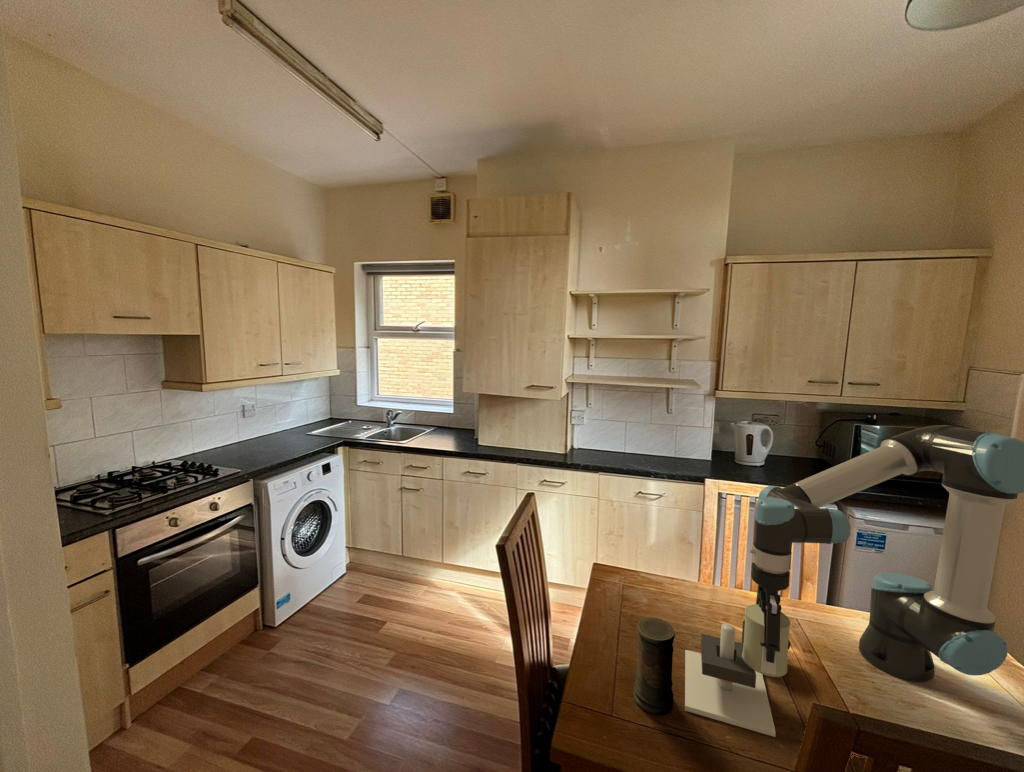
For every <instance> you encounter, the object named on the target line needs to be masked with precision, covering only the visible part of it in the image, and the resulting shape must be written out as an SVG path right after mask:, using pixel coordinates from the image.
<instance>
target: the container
mask: <svg viewBox="0 0 1024 772" xmlns="http://www.w3.org/2000/svg"><path fill="white" fill-rule="evenodd" d="M636 628H637V629H636V630H637V633H638V639H637V664H636V673H635V677H636V679H635V681H634V683H633V685H634V686H633V698H634V700H635V702H636V704H637V705H638V706H639V707H640V708H641V709H642V710H645V711H646V712H647V713H650V714H652V715H658V716H659V715H660V716H662V715H666V714H668V713H670V712H671V711H672V710H673V708H674V705H675V703H674V702H675V701H674V692H673V685H674V684H673V678H672V677H673V659H674V658H673V657H674V642H675V638H676V632H675V629H674V627H673V626H672V625H671V624H670V623H669V622H667V621H665V620H664V619H661V618H658V617H652V616H651V617H644V618H641V620H639V622H638V623H637V627H636Z"/></svg>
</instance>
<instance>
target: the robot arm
mask: <svg viewBox="0 0 1024 772" xmlns="http://www.w3.org/2000/svg"><path fill="white" fill-rule="evenodd" d="M925 471H927V472H928V471H929V472H937V473H941V474H942V480H941V486H942V487H943V488H944V489H945V490H946V491H947V492H948V495H949V496H948V501H947V507H946V514H945V520H944V527H943V531H942V536H941V537H942V538H941V544H940V550H939V557H938V564H937V569H936V575H935V581H934V587H933V585H932V584H930V583H929V582H927V581H926V580H924V579H921V578H919V577H916V576H912V575H908V574H904V573H899V572H898V573H897V572H889V571H887V572H885V571H884V572H879V573H877V574H875V575H874V576H873V578H872V584H871V586H870V587H871V588H870V589H871V591H870V606H869V608H870V609H869V622H868V625H867V627H866V628H865V630H864V632H863V633H862V635H861V636H860V637H859V638H860V639H859V641H858V651H859V653H860V655H861V656H862V657H863V658H864V659H865V660H866V661H867V662H868V663H870V664H871V665H872V666H874V667H876V668H878V669H879V670H880V671H882V672H885V673H887V674H890V675H892V676H893V677H897V678H899V679H902V680H907V681H910V682H917V683H925V682H931V681H932V680H933V679H934V677H935V672H936V671H935V670H936V667H935V665H936V664H935V662H934V659H933V656H932V655H934V656H936V657H937V658H938V659H939V660H940V662H942V663H944V664H946V665H949V666H950V667H951V668H953V669H954V670H955V671H957V672H959V673H962V674H964V675H967V676H983V675H987V674H990V673H992V672H993V671H995V670H997V669H998V668H1000V666H1002V665H1003V663H1004V662H1005V661H1006V658H1007V656H1008V654H1009V648H1008V647H1009V646H1008V644H1007V642H1006V641H1005V639H1004V638H1003V637H1002V636H1001V635H1000V634H999V633H998V632H997V631H996V632H995V626H996V625H995V624H996V616H995V615H994V614H993V613H992V611H991V610H990V609H989V608H988V604H989V599H990V593H991V586H992V580H993V574H994V570H995V569H994V568H995V564H996V558H997V553H998V552H997V551H998V546H999V542H1000V541H999V540H1000V536H1001V529H1002V524H1003V520H1004V519H1003V517H1004V512H1005V506H1006V505H1007V504H1009V503H1012V502H1016V501H1017V499H1018V495H1019V494H1022V493H1023V494H1024V441H1023V440H1021V439H1019V438H1015V437H1011V436H1009V435H1008V436H1007V435H1003V434H1001V433H995V432H989V431H982V430H978V429H977V430H976V429H970V428H963V427H959V426H954V425H949V424H948V425H947V424H941V425H940V424H938V425H937V424H936V425H935V424H934V425H927V426H923V427H919V428H915V429H911V430H908V431H905V432H902V433H899V434H896V435H894V436H891V437H890V438H887V439H885V440H882V441H881V443H880V445H879V447H877V448H874V449H872V450H870V451H867V452H865V453H863V454H860V455H857V456H855V457H853V458H851V459H849V460H846V461H844V462H841V463H840V464H837V465H836V464H835V466H832V467H830V468H828V469H827V468H826V469H825V470H823V471H820V472H818V473H816V474H813V475H811V476H809V477H805V478H804V479H802V480H798V481H797V482H795V483H792V484H790V485H787V486H785V487H780V486H777V485H768V486H766V487H764V488H762V490H761V491H760V492H759V494H758V498H757V499H758V500H757V501H756V505H755V510H754V514H753V519H754V525H753V526H754V527H753V541H752V542H753V543H752V544H753V546H752V547H753V548H750V549H749V553H751V554H752V564H751V573H750V575H751V579H752V581H753V582H754V583H755V584H757V591H756V600H755V604H758V605H759V607H761V611H762V612H763V613H764V625H765V628H764V643H761V642H760V644H761V646H763V647H762V663H761V672H763V673H767V674H771V675H776V660H777V652H780V615H781V612H782V605H781V604H780V603H781V594H779V592H780V591H785V590H787V589H788V588H789V587H790V578H791V575H790V573H791V572H790V570H791V565H792V554H793V553H792V549H793V544H826V545H831V544H842V543H845V542H846V541H848V540H849V538H850V537H851V524H850V520H849V519H848V517H847V516H846V514H845V513H844V512H843V511H841V510H839V509H836V508H829V507H825V508H823V507H824V506H827V505H830V504H833V503H835V502H837V501H840V500H842V499H844V498H846V497H849V496H852V495H853V494H856V493H859V492H861V491H864V490H866V489H868V488H870V487H873V486H876V485H878V484H880V483H883V482H885V481H888V480H891V479H892V478H895V477H898V476H900V475H902V474H903V475H906V476H910V475H914V474H916V473H917V474H918V473H919V472H925ZM765 608H767V609H765Z"/></svg>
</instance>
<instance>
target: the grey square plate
mask: <svg viewBox="0 0 1024 772" xmlns="http://www.w3.org/2000/svg"><path fill="white" fill-rule="evenodd" d="M720 641H721V637H717V636H713V635H708V634H704V633H701V634H700V653H701V659H702V674H703V675H707V676H711V677H715V678H718V679H722V680H726V681H730V682H734V683H737V684H741V685H745V686H749V687H753V688H755V686H756V673H755V670H753V669H752V668H750V667H749V666H748V665H747V664H746V663H745V662H744V660H743V658H742V652H743V644H744V643H742V642H739V641H735V643H734V661H732V660H728V659H724V658H720Z"/></svg>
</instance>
